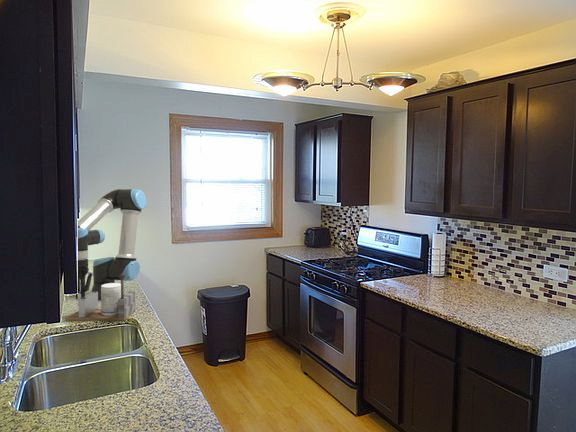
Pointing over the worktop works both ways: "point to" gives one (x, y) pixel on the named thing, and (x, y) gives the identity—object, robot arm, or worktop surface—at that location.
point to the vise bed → (95, 317)
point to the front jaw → (88, 304)
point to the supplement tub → (110, 298)
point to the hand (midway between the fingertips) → (80, 305)
